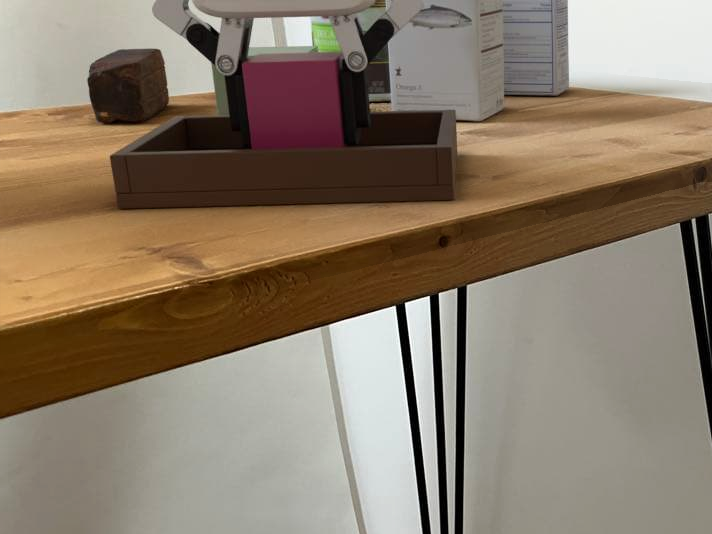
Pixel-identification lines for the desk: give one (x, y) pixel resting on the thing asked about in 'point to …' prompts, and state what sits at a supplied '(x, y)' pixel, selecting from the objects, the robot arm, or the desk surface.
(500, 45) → the white packaging box
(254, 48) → the base block
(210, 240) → the desk surface
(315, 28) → the coffee can
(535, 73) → the medicine box
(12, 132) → the desk surface
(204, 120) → the tray
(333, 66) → the top block
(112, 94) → the brick
